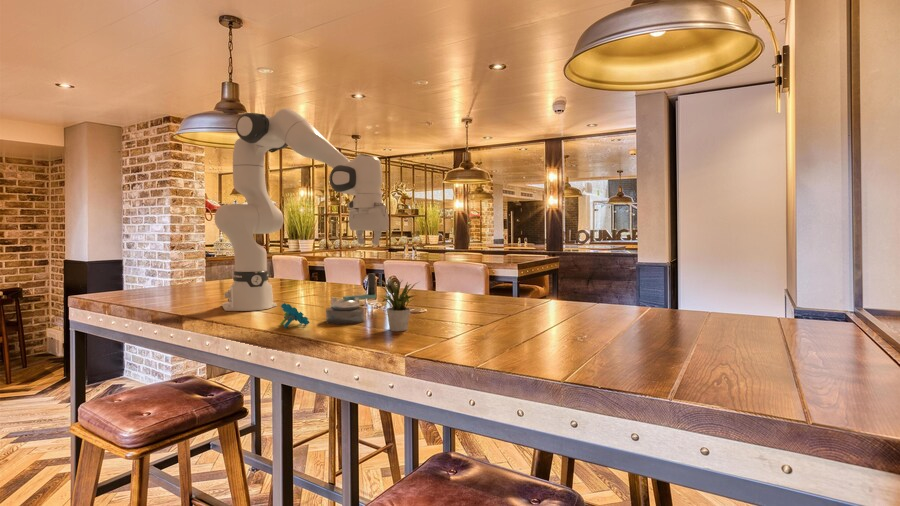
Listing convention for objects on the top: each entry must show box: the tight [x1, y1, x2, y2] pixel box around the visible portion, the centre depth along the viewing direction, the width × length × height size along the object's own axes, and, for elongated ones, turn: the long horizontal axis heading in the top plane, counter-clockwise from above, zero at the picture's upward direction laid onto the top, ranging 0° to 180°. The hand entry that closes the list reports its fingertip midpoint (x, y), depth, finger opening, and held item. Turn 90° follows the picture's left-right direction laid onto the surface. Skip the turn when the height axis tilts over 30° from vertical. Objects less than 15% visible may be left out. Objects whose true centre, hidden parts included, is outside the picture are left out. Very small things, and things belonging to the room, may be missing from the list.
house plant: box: [378, 278, 420, 332], centre depth 145 cm, size 14×14×16 cm
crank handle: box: [330, 272, 377, 310], centre depth 160 cm, size 16×9×11 cm, turn 131°
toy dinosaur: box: [279, 302, 310, 329], centre depth 149 cm, size 11×6×10 cm
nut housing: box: [325, 305, 365, 326], centre depth 159 cm, size 12×12×4 cm
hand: (368, 244), depth 164 cm, fingers open, 8 cm apart
